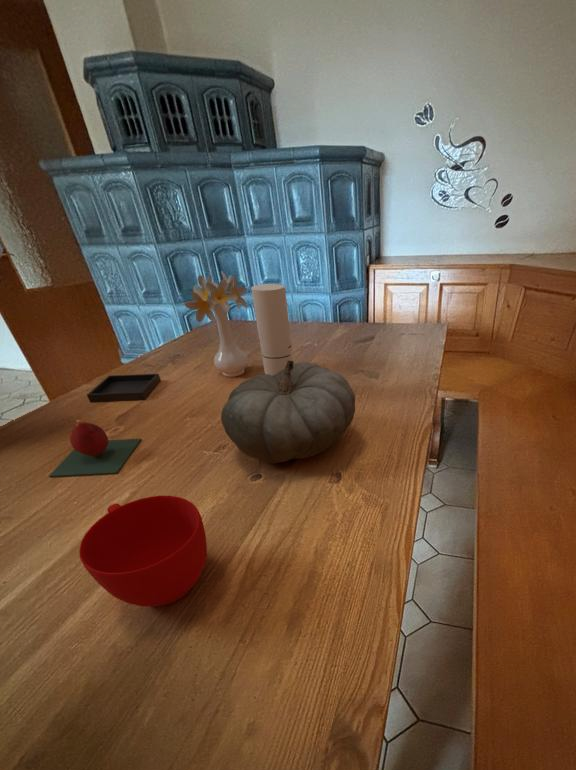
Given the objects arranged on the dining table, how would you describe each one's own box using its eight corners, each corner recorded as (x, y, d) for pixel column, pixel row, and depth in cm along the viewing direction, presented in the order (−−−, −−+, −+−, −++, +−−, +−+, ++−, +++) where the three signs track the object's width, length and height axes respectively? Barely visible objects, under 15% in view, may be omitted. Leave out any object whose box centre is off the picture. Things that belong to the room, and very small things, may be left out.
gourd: (387, 435, 75) (371, 350, 65) (283, 506, 65) (243, 419, 55) (316, 404, 92) (293, 333, 82) (224, 457, 82) (185, 383, 71)
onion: (110, 444, 78) (93, 409, 73) (117, 456, 75) (100, 420, 70) (78, 455, 75) (58, 419, 70) (84, 468, 72) (63, 431, 67)
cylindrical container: (301, 391, 99) (290, 284, 84) (290, 403, 93) (276, 291, 78) (276, 388, 100) (260, 283, 85) (263, 400, 95) (244, 289, 80)
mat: (49, 477, 70) (48, 475, 70) (82, 443, 80) (81, 441, 79) (117, 474, 71) (116, 472, 70) (141, 440, 80) (140, 438, 80)
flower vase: (201, 387, 101) (172, 283, 86) (220, 362, 116) (198, 269, 101) (250, 386, 101) (230, 282, 86) (263, 361, 116) (248, 268, 101)
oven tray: (90, 402, 95) (86, 394, 94) (111, 382, 105) (108, 375, 103) (144, 400, 96) (142, 392, 94) (161, 380, 105) (158, 373, 104)
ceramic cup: (174, 523, 60) (152, 471, 54) (238, 579, 51) (221, 525, 45) (85, 573, 52) (48, 520, 46) (143, 650, 44) (107, 596, 37)
